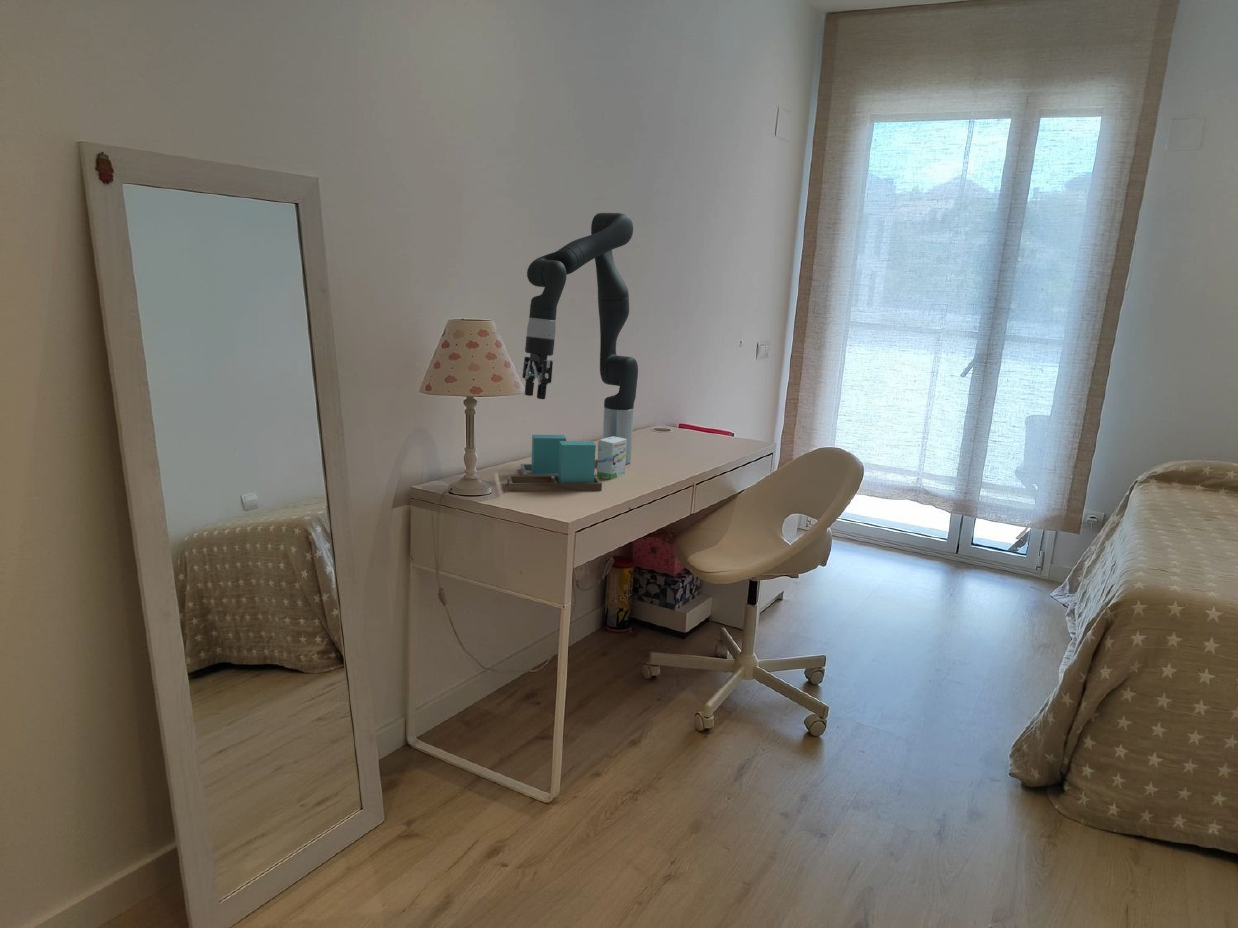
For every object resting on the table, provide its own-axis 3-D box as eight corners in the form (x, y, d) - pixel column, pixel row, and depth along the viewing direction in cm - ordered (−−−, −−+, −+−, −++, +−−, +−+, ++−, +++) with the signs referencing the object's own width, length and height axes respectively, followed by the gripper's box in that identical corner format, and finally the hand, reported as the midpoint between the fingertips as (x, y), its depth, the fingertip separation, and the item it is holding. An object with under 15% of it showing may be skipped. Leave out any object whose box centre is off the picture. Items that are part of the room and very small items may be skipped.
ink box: (610, 483, 226) (612, 442, 223) (595, 480, 228) (597, 440, 225) (625, 477, 233) (627, 438, 230) (611, 475, 235) (613, 435, 233)
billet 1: (531, 475, 230) (532, 434, 227) (562, 475, 232) (563, 434, 229) (533, 479, 225) (534, 438, 223) (564, 479, 227) (566, 438, 224)
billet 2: (558, 484, 218) (559, 441, 215) (590, 484, 219) (592, 441, 217) (560, 489, 213) (561, 445, 210) (593, 488, 215) (595, 445, 212)
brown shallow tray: (507, 486, 217) (507, 475, 216) (595, 485, 222) (596, 475, 221) (509, 494, 209) (509, 483, 208) (601, 494, 214) (601, 483, 213)
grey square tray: (520, 472, 233) (520, 464, 232) (570, 472, 236) (570, 464, 235) (524, 483, 221) (524, 474, 220) (576, 482, 224) (576, 474, 223)
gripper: (564, 339, 208) (558, 401, 211) (543, 336, 221) (537, 395, 223) (538, 336, 205) (531, 399, 207) (517, 334, 217) (511, 393, 219)
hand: (534, 397), depth 215 cm, fingers open, 8 cm apart
